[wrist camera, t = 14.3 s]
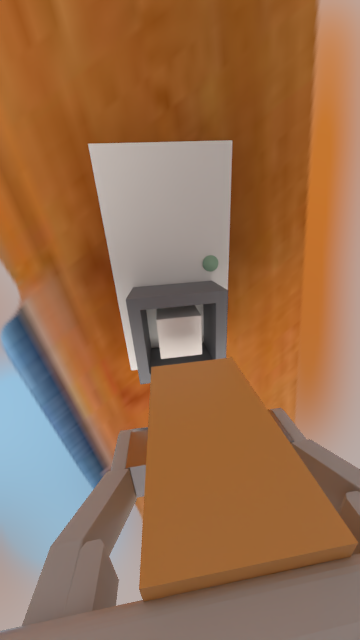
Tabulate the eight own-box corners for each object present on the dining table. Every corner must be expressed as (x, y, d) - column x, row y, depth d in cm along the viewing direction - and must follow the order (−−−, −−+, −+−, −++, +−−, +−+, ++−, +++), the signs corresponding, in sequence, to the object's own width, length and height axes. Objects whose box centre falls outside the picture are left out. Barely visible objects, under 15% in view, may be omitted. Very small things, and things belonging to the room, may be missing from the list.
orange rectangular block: (151, 366, 10) (139, 589, 3) (231, 357, 10) (357, 542, 4) (160, 427, 12) (162, 657, 5) (229, 417, 12) (315, 620, 5)
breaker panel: (92, 149, 16) (56, 97, 10) (228, 146, 17) (262, 96, 11) (132, 365, 24) (124, 401, 18) (223, 355, 25) (241, 385, 19)
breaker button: (156, 308, 20) (156, 320, 16) (194, 304, 20) (201, 315, 17) (160, 341, 21) (160, 359, 18) (195, 338, 21) (202, 354, 18)
